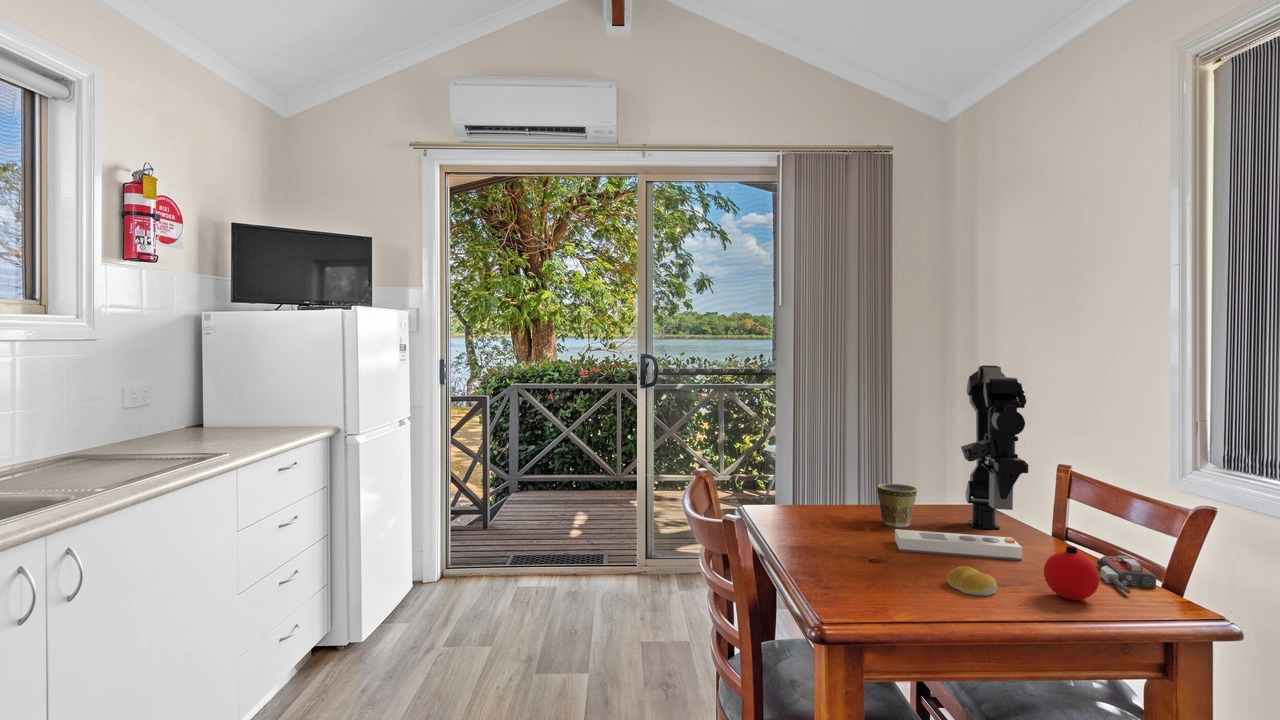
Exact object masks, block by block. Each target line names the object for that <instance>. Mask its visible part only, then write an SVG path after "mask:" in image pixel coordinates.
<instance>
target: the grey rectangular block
mask: <svg viewBox="0 0 1280 720" xmlns="http://www.w3.org/2000/svg"><path fill="white" fill-rule="evenodd" d="M1013 501H1014V486H1013V487H1012V489H1011V491H1010V493H1009V494H1008V496H1007V498H1006V499H1001V497H1000V492H999V485H998V478H997V475H996V474H995V473H994V472H989V506H991V507H992V508H993V509H996V510H1008V511H1013V510H1014V508H1013V505H1014V504H1013V503H1014V502H1013Z"/></svg>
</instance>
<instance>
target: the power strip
mask: <svg viewBox="0 0 1280 720" xmlns="http://www.w3.org/2000/svg"><path fill="white" fill-rule="evenodd" d="M894 543H895V545H896V548H897V550H898V551H899V552H908V553H920V554H921V553H922V554H933V555H947V556H956V557H957V556H958V557H973V558H984V559H996V560H1007V561H1008V560H1009V561H1023V546H1021V545H1020V543H1018V542H1017V541H1016V540H1015V539H1014V537H1009V536H1008V537H1007V536H992V535H981V534H980V535H979V534H967V533H966V534H965V533H964V534H963V533H952V532H940V531H939V532H938V531H937V532H936V531H924V530H922V531H921V530H913V529H912V530H909V529H908V530H907V529H897V528H895V529H894Z"/></svg>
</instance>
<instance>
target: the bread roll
mask: <svg viewBox="0 0 1280 720" xmlns="http://www.w3.org/2000/svg"><path fill="white" fill-rule="evenodd" d="M946 580H947V583H948V584H949V586H950V587H952V588H953V589H954V590H955V589H956V590H958V591H960V592H962V593H964V594H967V595H973V596H983V597H985V596H986V597H988V596H994V595H995V594H996V592H997V591H998V583H997V581H996V579H995V578H994V577H993V576H991V575H989V574H986V573H982V572H980V571H979V570H978V569H976V568H973V567H970V566H968V565H967V566H965V565H962V566H961V565H960V566H957V567H955V568H954V569H952V570H950V571H949V572H948V574H947V575H946Z"/></svg>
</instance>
